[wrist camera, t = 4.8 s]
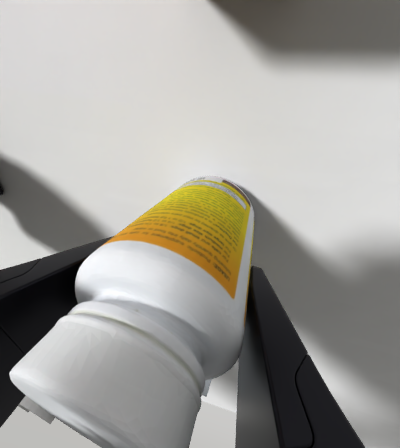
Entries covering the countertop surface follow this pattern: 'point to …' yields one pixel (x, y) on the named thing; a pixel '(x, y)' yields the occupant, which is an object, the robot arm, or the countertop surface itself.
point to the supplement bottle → (150, 322)
